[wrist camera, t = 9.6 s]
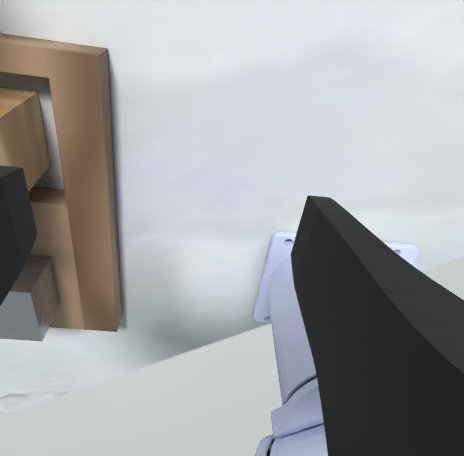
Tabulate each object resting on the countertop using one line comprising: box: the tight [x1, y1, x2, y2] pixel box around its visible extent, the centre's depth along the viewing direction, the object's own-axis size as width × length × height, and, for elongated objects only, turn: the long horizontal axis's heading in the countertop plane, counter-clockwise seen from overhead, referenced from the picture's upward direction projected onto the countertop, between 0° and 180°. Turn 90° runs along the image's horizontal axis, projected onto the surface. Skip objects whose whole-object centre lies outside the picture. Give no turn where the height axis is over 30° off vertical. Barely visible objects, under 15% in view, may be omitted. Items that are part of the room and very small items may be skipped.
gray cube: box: [0, 254, 60, 341], centre depth 22 cm, size 4×4×4 cm
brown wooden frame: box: [0, 34, 121, 332], centre depth 21 cm, size 11×18×2 cm, turn 172°
